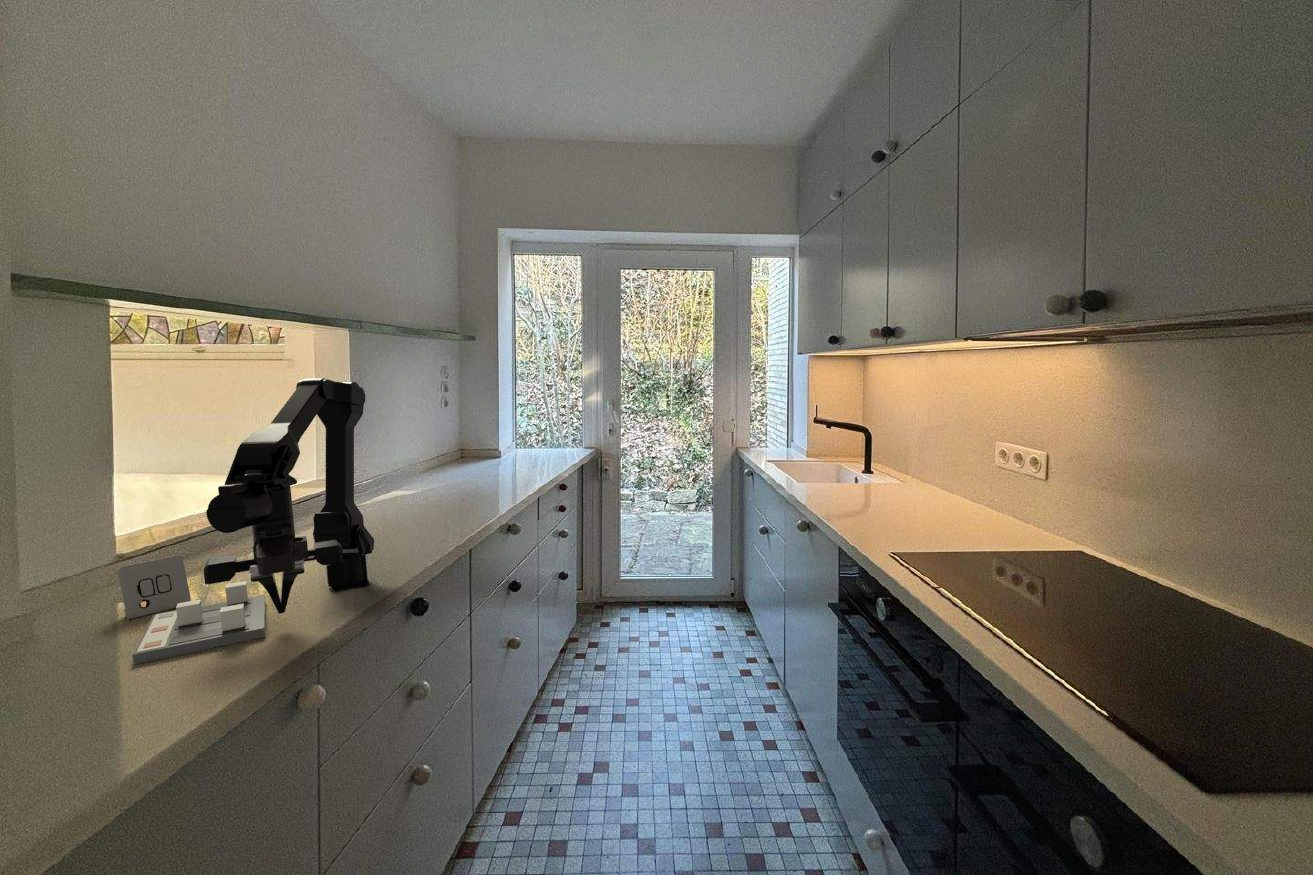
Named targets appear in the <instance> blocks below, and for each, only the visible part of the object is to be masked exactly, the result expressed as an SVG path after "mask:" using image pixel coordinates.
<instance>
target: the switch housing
mask: <svg viewBox="0 0 1313 875" xmlns="http://www.w3.org/2000/svg"><path fill="white" fill-rule="evenodd" d="M266 602H267V600H266V594H260V595H256V596H248V601H246V602H241V603H235V604H230V605H227V601H222V602H216V603H211V604H204V605H202V614H203V618H202V622H197V623H192V624H187V625H182V626H178V621H177V612H176V610H171V611H167V612H159V613H153V614H152V617H151V619H150V620H149V622H148V624H147V627H146V629H145V630H144V632H143V633H142V636H141V638H140V639H139V642H138V644H137V645H136V647H135V649H134V651H133V653H132V661H133V665H138V664H144V663H147V662H148V663H149V662H154V661H157V660H163V659H167V658H172V657H176V656H181V655H186V654H191V652H192V653H195V652H202V651H204V650H205V649H206V650H210V649H209V648H211V649H215V648H214V647H216V648H220V647H219V646H221V647H225V646H229V645H228V644H230V645H234V644H233V643H235V644H238V642H240V643H243V641H244V642H248V641H253V640H257V639H258V640H259V639H262V638H266V612H265V610H266V609H267V608H266V607H267V606H266V605H267V604H266ZM238 604H244V612H245V627H241V628H236V629H230V630H225V631H222V629H221V620H220V609H221V608H222V607H227V606H233V605H238ZM224 645H225V646H224Z"/></svg>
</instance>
